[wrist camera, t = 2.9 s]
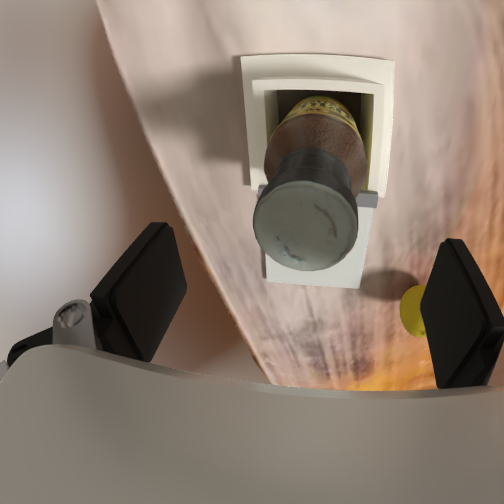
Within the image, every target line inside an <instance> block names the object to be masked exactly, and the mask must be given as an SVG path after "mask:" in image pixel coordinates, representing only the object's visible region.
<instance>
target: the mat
mask: <svg viewBox="0 0 504 504" xmlns="http://www.w3.org/2000/svg"><path fill="white" fill-rule="evenodd" d="M372 214H373V208H368V207H358V233H357V239H356V241H355V244H354V247H353V248H352V250H351V251H350V252H349V253H348V254H347V255H346V256H345V258H344V259H343V260H341V261H340V262H339V263H337V264H336V265H334V266H332V267H330V268H327V269H324V270H316V271H299V270H295V269H291V268H288V267H285V266H283V265H281V264H279V263H277V262H276V261H274V260H273V259H272V258H271V257H270V256H269V255H267V254H266V253H265V257H266V275H267V282H276V283H288V284H301V285H314V286H328V287H342V288H358V289H359V286H360V282H361V277H362V272H363V267H364V262H365V256H366V251H367V245H368V240H369V233H370V227H371V221H372Z"/></svg>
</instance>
